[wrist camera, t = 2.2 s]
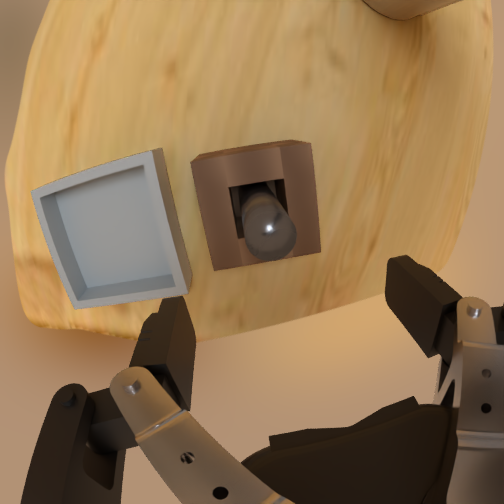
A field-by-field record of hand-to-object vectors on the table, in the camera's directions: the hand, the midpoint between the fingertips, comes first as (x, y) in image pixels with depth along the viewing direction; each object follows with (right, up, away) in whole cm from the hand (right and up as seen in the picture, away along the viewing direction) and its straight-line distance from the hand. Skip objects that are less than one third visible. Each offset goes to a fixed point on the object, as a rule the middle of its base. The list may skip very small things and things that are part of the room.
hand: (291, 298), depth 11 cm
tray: (-16, +4, +18) cm, 25 cm away
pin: (-1, +7, +17) cm, 19 cm away
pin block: (-1, +8, +18) cm, 20 cm away
